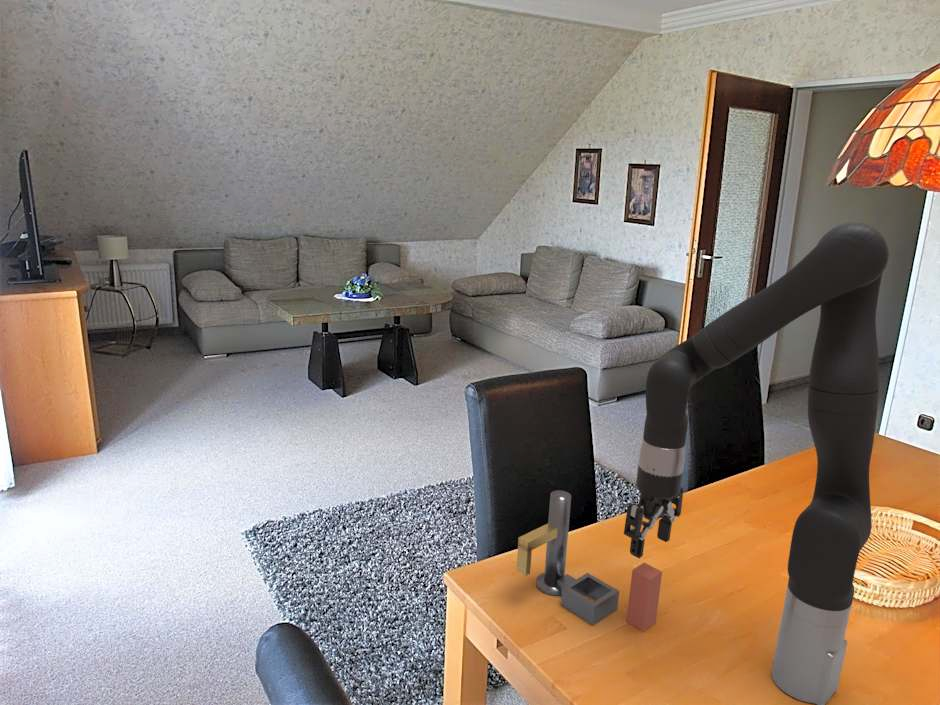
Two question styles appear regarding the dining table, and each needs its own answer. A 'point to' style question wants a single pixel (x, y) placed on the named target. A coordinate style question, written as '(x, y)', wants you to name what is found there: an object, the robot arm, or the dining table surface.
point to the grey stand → (555, 563)
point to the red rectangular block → (644, 596)
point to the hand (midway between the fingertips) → (649, 547)
